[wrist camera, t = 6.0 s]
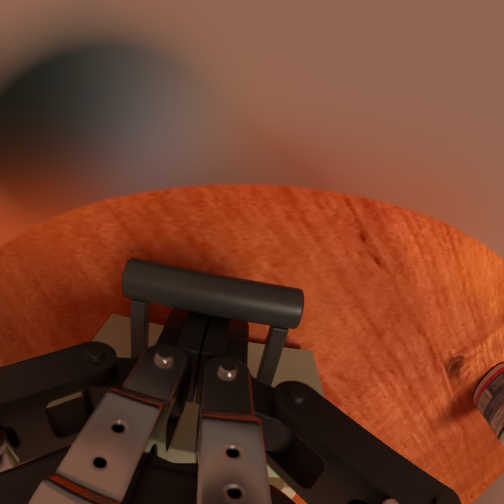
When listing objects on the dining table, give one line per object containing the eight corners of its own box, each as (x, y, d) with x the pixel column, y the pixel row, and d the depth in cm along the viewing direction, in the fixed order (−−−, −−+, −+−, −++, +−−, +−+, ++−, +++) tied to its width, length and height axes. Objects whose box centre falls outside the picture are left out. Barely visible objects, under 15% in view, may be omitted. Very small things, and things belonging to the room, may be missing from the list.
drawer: (115, 215, 14) (13, 274, 7) (342, 257, 15) (410, 350, 8) (126, 451, 21) (102, 523, 13) (259, 476, 21) (260, 552, 14)
